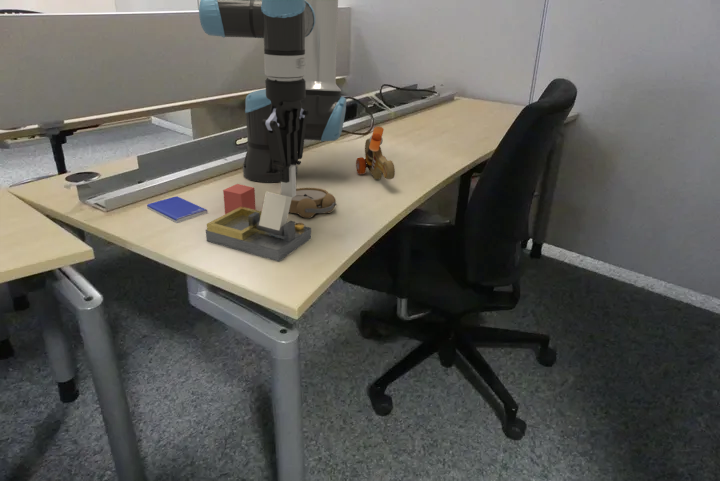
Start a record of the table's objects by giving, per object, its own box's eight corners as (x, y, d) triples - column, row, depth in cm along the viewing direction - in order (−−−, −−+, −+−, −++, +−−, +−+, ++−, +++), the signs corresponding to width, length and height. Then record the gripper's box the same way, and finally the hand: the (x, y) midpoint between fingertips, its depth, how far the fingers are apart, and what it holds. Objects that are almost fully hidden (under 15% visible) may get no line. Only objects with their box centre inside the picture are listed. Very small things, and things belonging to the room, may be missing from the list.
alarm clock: (312, 184, 132) (345, 192, 121) (314, 203, 134) (347, 213, 122) (273, 193, 126) (304, 202, 115) (275, 212, 128) (306, 223, 116)
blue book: (207, 208, 120) (177, 195, 128) (176, 218, 115) (146, 204, 122) (208, 215, 121) (178, 201, 128) (176, 225, 115) (147, 210, 123)
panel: (243, 220, 117) (241, 195, 115) (311, 238, 110) (310, 212, 108) (206, 240, 108) (203, 213, 105) (278, 261, 101) (277, 233, 98)
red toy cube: (239, 207, 125) (237, 183, 122) (255, 211, 123) (254, 187, 120) (225, 214, 121) (223, 190, 118) (242, 218, 119) (240, 194, 116)
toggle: (261, 230, 107) (269, 192, 107) (285, 236, 105) (294, 197, 104) (255, 229, 105) (264, 190, 105) (280, 236, 103) (288, 196, 102)
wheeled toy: (380, 168, 155) (382, 122, 149) (405, 192, 137) (409, 141, 131) (354, 170, 153) (355, 123, 147) (376, 195, 135) (378, 143, 129)
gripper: (282, 84, 91) (286, 209, 101) (320, 75, 101) (320, 189, 112) (247, 79, 94) (254, 201, 104) (288, 71, 104) (290, 183, 114)
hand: (288, 195), depth 108 cm, fingers closed
